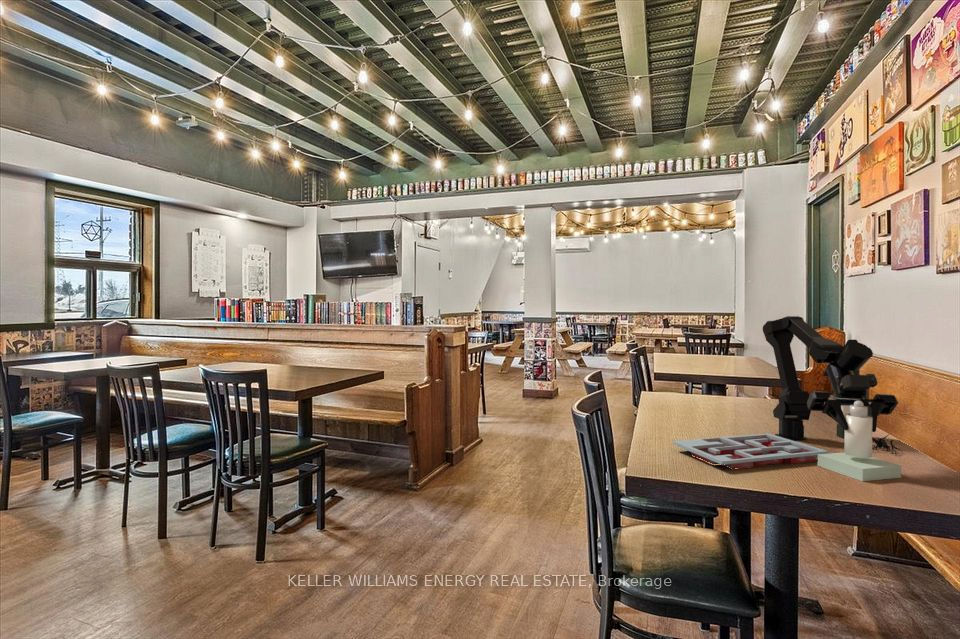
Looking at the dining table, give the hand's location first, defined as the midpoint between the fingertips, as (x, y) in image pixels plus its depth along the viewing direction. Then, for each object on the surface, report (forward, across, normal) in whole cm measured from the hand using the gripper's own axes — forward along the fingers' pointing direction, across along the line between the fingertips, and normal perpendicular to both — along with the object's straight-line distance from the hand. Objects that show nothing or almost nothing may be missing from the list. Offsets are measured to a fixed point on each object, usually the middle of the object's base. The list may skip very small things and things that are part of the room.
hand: (860, 430), depth 122 cm
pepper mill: (+4, 0, +6) cm, 7 cm away
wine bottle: (-20, +13, +36) cm, 44 cm away
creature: (-8, +16, +25) cm, 30 cm away
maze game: (+3, -24, +14) cm, 28 cm away
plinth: (+7, 0, +9) cm, 11 cm away
